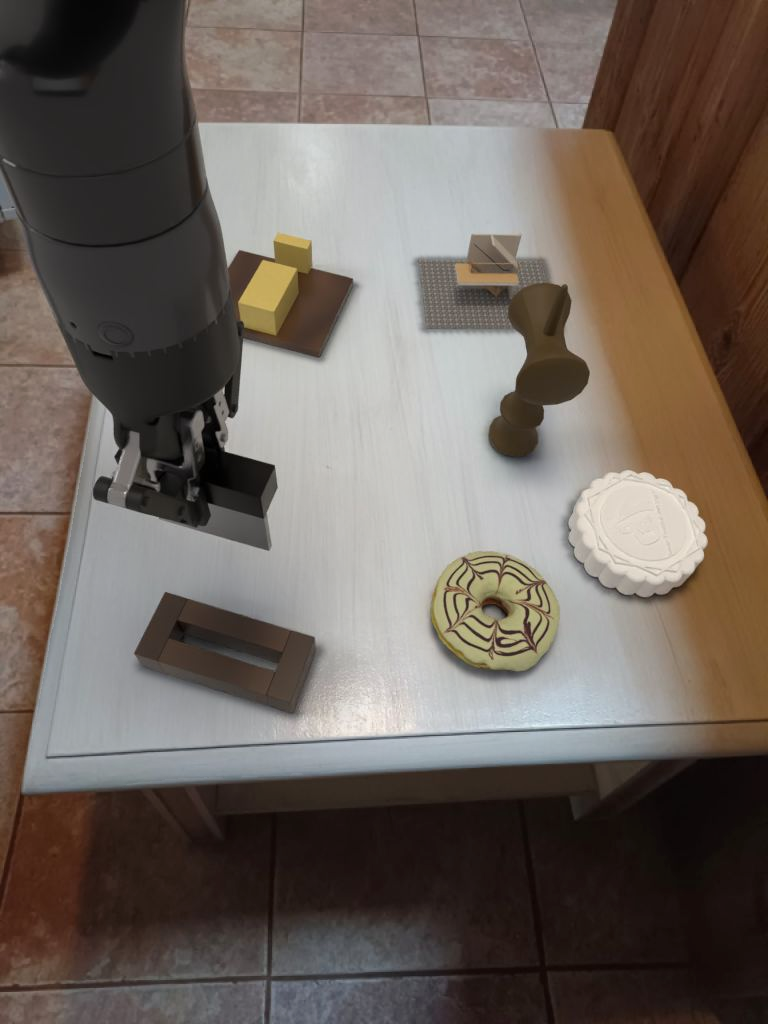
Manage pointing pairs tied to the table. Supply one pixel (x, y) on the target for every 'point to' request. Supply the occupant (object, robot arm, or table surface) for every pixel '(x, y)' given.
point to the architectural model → (477, 284)
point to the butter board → (296, 305)
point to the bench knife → (235, 497)
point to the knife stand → (222, 671)
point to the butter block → (269, 297)
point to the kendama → (538, 367)
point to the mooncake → (637, 533)
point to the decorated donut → (483, 636)
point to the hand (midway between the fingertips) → (202, 498)
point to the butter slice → (293, 252)
